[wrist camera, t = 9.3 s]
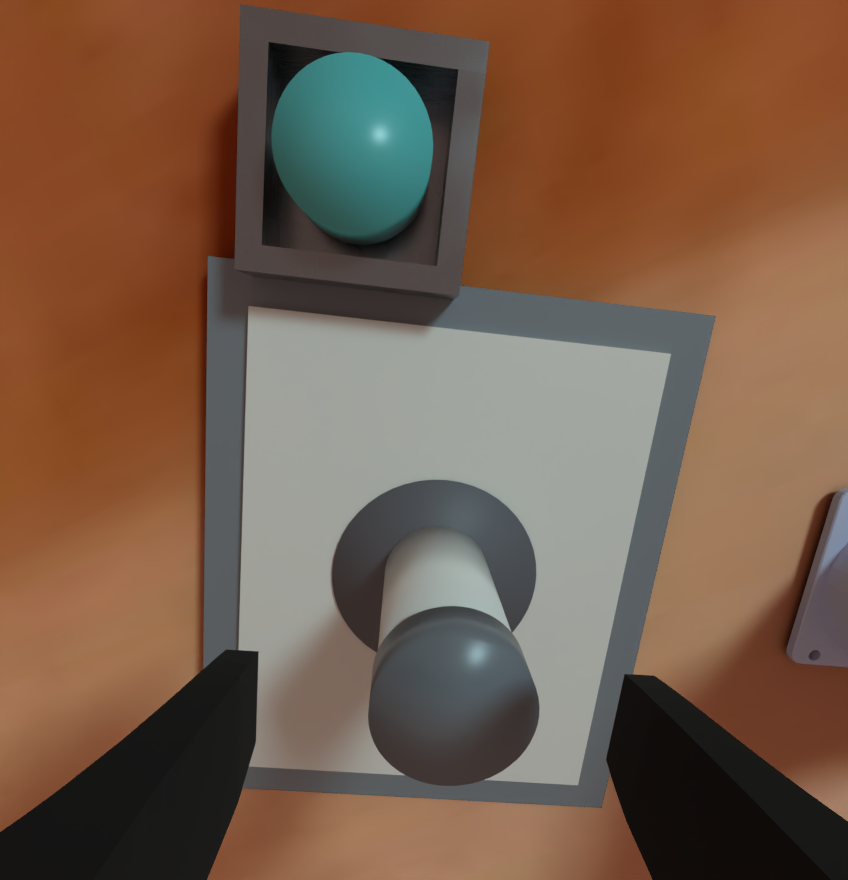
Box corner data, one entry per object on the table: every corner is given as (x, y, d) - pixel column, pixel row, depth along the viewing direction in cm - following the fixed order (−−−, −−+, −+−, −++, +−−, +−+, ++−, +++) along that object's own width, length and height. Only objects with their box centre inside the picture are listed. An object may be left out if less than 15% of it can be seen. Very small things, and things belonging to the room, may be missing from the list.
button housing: (476, 87, 16) (489, 41, 13) (451, 301, 17) (459, 295, 15) (266, 57, 15) (240, 4, 13) (259, 279, 17) (234, 269, 14)
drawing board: (702, 317, 18) (722, 315, 17) (594, 791, 22) (605, 816, 21) (217, 259, 17) (202, 253, 15) (209, 769, 21) (197, 794, 20)
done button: (437, 101, 14) (441, 65, 12) (421, 252, 15) (424, 240, 13) (293, 81, 14) (274, 40, 12) (286, 235, 15) (268, 220, 13)
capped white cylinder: (499, 532, 18) (557, 651, 11) (477, 628, 19) (519, 794, 12) (391, 515, 18) (382, 628, 11) (374, 614, 19) (356, 776, 12)
